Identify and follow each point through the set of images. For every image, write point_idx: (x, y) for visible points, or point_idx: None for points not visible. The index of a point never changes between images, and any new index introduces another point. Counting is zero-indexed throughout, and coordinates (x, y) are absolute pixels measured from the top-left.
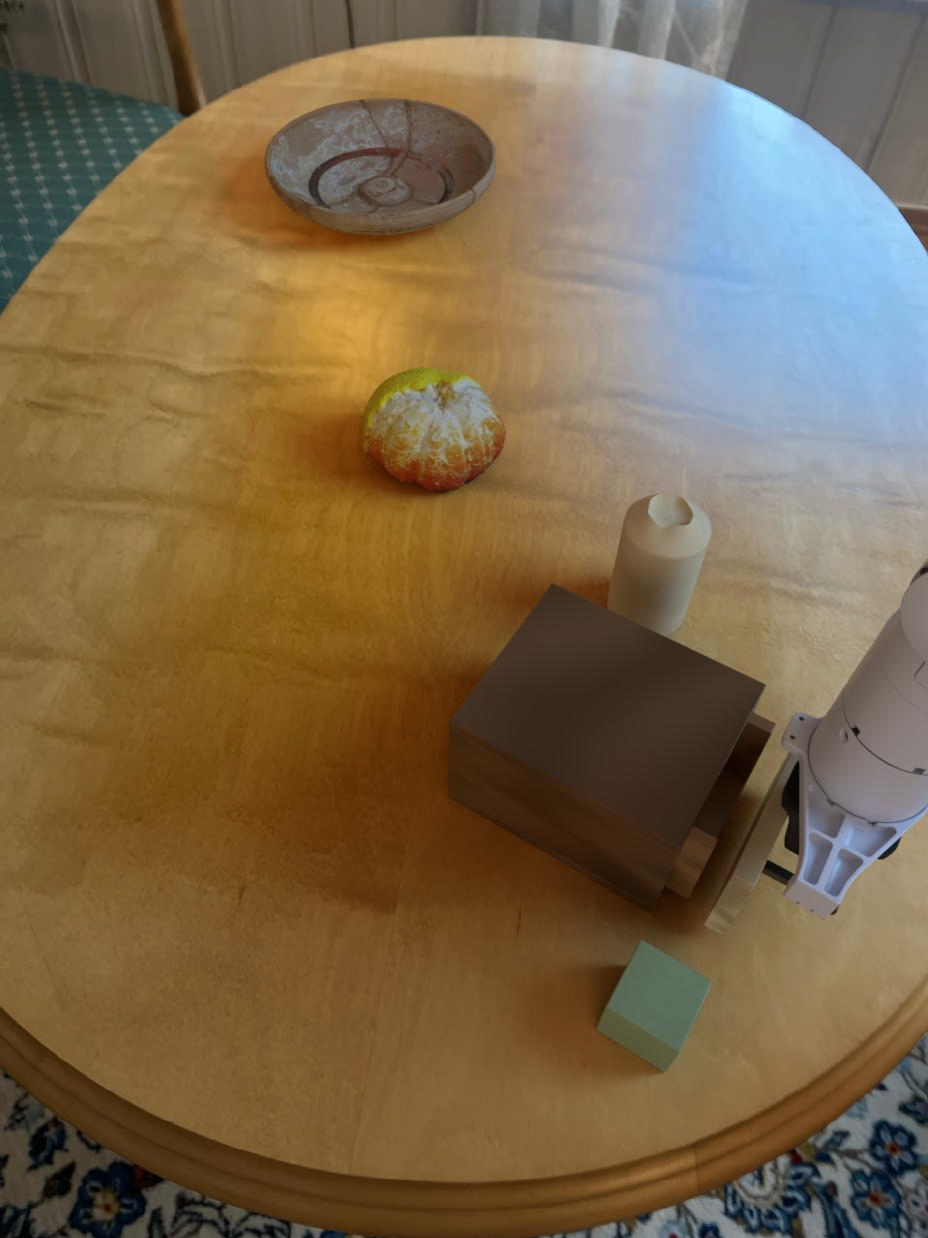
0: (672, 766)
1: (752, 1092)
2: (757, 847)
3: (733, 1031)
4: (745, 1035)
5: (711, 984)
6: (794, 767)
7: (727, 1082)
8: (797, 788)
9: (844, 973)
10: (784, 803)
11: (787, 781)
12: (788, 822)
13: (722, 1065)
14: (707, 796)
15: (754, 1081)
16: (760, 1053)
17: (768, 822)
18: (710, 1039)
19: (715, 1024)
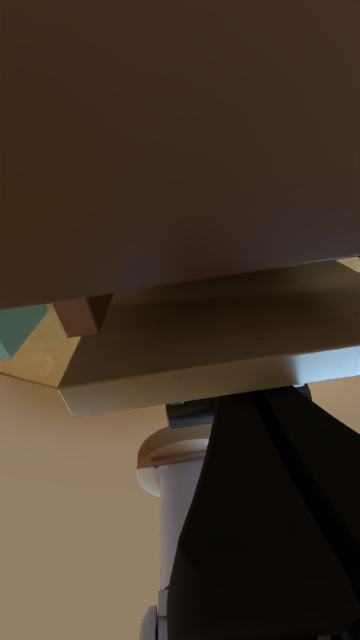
0: (148, 106)
1: (37, 372)
2: (138, 392)
3: (60, 343)
4: (66, 350)
5: (7, 359)
6: (326, 617)
7: (25, 358)
8: (240, 636)
9: None
10: (177, 580)
11: (250, 618)
12: (218, 409)
13: (31, 350)
14: (139, 288)
15: (45, 370)
16: (66, 364)
17: (199, 381)
18: (37, 334)
19: (51, 331)
